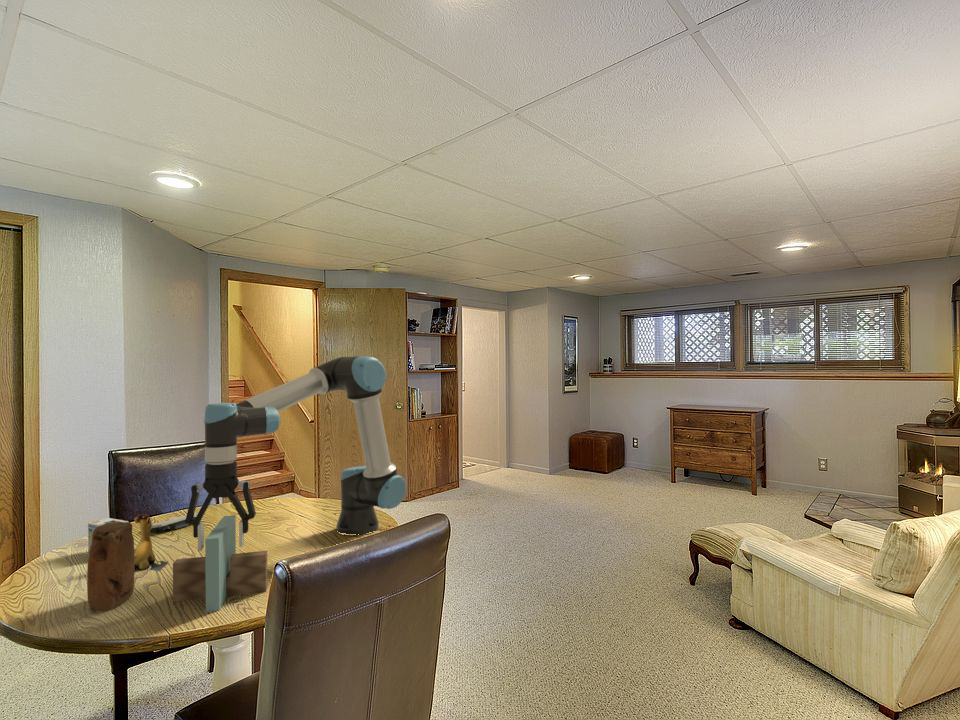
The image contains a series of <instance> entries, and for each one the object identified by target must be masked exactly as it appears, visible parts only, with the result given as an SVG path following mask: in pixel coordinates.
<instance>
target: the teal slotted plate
mask: <svg viewBox="0 0 960 720" xmlns="http://www.w3.org/2000/svg"><path fill="white" fill-rule="evenodd" d="M236 520H237V519H236V515H235V514H234V515H223V516H222V518H221V519H220V520H219V522H218V523H217V524H216V525H215V527H214V528H213V529H212V530H211V531H210V533H209V534H208V535H207V537H206V538H204V544H205V545H204V549H205V550H204V551H205V553H204V554H205V555H204V557H205V566H206V598H205V613H210V612H211V613H212V612H220V610H221V608H222V607H223V604H224V602H225V601H226V598H227V596H226V576H227V574H228V573H230V557H231V555H232V554H237V549H236V548H237V541H236V540H237V539H236V537H237V535H236V530H237V529H236V526H237V525H236V523H237V522H236Z"/></svg>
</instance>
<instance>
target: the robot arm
mask: <svg viewBox="0 0 960 720" xmlns="http://www.w3.org/2000/svg"><path fill="white" fill-rule="evenodd" d="M386 380H387V372H386V369H385V366H384V364H383V363H382V362H381V360H379V359H377V358H376V357H373V356H367V355H355V356H340V357H336V358H333V359H331V360H329V361H326V362H324V363H322V364H320V365H317V366H316V367H312V368H310V370H309V372H308V373H306V374H304V375H303V374H302V375H301V376H299V377H297V378H295V379H292V380H290V381H287V382H285V383H283V384H280V385H277V386H276V387H273V388H271V389H268V390H266V391H264V392H261V393H258V394H256V395H255V396H252V397H250V398H247V399H245V400H242V401H239V402H238V403H235V402H215V403H210V404H207V405H206V407H205V409H204V420H203V423H204V438H205V439H204V462H205V465H204V482H203V483H194V484H192V486H191V487H190V490H191V497H190V501H189V504H188V508H187V512H186V515H187V516H186V520H185V523H186V524H189V525H192V528H193V529H192V530H193V531H192V533H193V538H196V539H197V552H201V551H202V550H203V549H205V545H204V544H205V533H204V532H205V528H204V527H205V526H204V522H202V520H203V517H204V516H205V514H206V512H207V510H208V508H209V506H210V504H211V502H212V501H213V499H219V498H222V499H226V498H227V499H228V500H229V501H230V502H231V503H232V505H233V507H234V509H235V510H236V512H237V514H238V516H239V518H240V520H239V522H238V527H239V528H238V531H239V532H238V533H239V534H238V538H239V539H238V541H239V542H238V543H239V544H238V545H239V547H238V548H243V546H244V545H245V534H247V533H248V532H249V520H251V519H252V520H253V519H254V518H255V516H256V514H257V512H256V508H255V505H254V501H253V498H252V494H251V490H250V485H251V481H250V480H248V479H247V480H245V481H244V480H239V479H238V462H237V461H236V460H237V459H238V445H237V444H238V442H237V441H238V438H242V437H248V436H249V437H250V436H259V435H260V436H261V435H268V434H273V433H275V432H277V430H278V429H279V428H280V425H281V416H280V413H279V412H281V411H284V410H286V409H289V408H290V407H292V406H294V405H297V404H298V403H301V402H303V401H305V400H307V399H309V398H311V397H315V396H316V395H325V394H327V393H330V392H334V391H346V396H347V400H348V401H350V402H352V403H353V404H352V405H353V408H354V412H355V419H356V423H357V427H358V432H359V438H360V443H361V447H362V452H363V459H364V463H365V465H359V466H353V467H349V468H345V469H343V470H342V471H341V473H340V475H341V476H340V498H341V500H340V505H341V507H340V508H341V510H340V512H339V516H338V519H337V521H336V522H337V523H336V532H337V531H338V532H340V533H346V534H356V535H358V534H359V535H362V536H364V535H363V534H366V533H369V532H372V533H370V534H369V535H371V534H373V533H375V532H373V531H376V530H377V531H379V529H380V526H379V519H378V517H377V514H376V510H375V507H376V508H377V507H378V508H380V509H382V510H383V509H387V510H391V509H395V508H397V507H399V505H400V504H401V503H402V502H403V500H404V498H405V496H406V493H407V482H406V480H405V478H404V477H403V476H401V475H400V474H398V469H397V466H396V464H394V463H393V462H391V455H390V451H389V446H388V440H387V435H386V434H387V433H386V431H385V430H386V429H385V425H384V420H383V419H384V418H383V414H382V409H381V403H380V399H379V398H380V396H381V395H382V393H383V391H382V390H383V387H384V386H385V381H386ZM238 486H239V487H240V488H239V489H240V490H242V493H243V497H244V502H245V505H246V509H247V511H246V509H245V507H244V506H243V504H242V502H241V501H240V499H239V497H238V494H237V492H236V491H235V490H236V489H237V487H238ZM203 489H204V490H205V491H206V493H208V494H207V496H206V497H205V500H204V502H203V503H202V505H201V507H200V509H199V511H198V512H197V513H198V514H197V516H196V518H193V517H194V513H196V509H197V508H196V507H197V505H198V501H199V497H200V493H201V492H202V491H203ZM377 531H376V532H377ZM367 535H368V534H366V535H365V536H367Z"/></svg>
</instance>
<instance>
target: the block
mask: <svg viewBox="0 0 960 720" xmlns="http://www.w3.org/2000/svg"><path fill="white" fill-rule="evenodd" d="M134 550H135V537H134V534H133V524H132V523H131V522H129V521H128V522H125V523H121V522H109V523H105V524H103V525H100V526H98V527H97V528H95V529H94V531H93V534H92V545H91V546H90V551H89V554H88V557H87V558H88V560H87V569H86V570H87V571H86V573H87V574H86V576H87V578H86V579H87V580H86V581H87V582H86V583H87V585H86V587H87V588H86V591H87V592H86V593H87V603H88V604H89V607H90V608H91V609H93V610H92V611H93V612H95V611H102V612H107V611H106V610H109V611H111V609H112V610H113V608H114V609H115V608H116V607H119V606H121V605H123V604H125V603H126V602H127V601H128V600H130V598H131V597H132V596H133V593H134V589H135V588H134V587H135V571H136V570H135V566H134Z"/></svg>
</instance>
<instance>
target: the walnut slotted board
mask: <svg viewBox="0 0 960 720" xmlns="http://www.w3.org/2000/svg"><path fill="white" fill-rule="evenodd" d="M267 590H268V550H259V551H249V552H240V553H239V552H238V553H237V552H236V554H232V555H231V557H230V573H228V574H227V576H226V597H230V596H231V597H232V596H238V595H239V596H240V595H248V594H257V593H266V592H267ZM201 599H206V566H205V556H197V557H196V556H195V557H187V558H185V557H184V558H177V559H175V560H174V561H173V563H172V602H182V601H191V600H201Z"/></svg>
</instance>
